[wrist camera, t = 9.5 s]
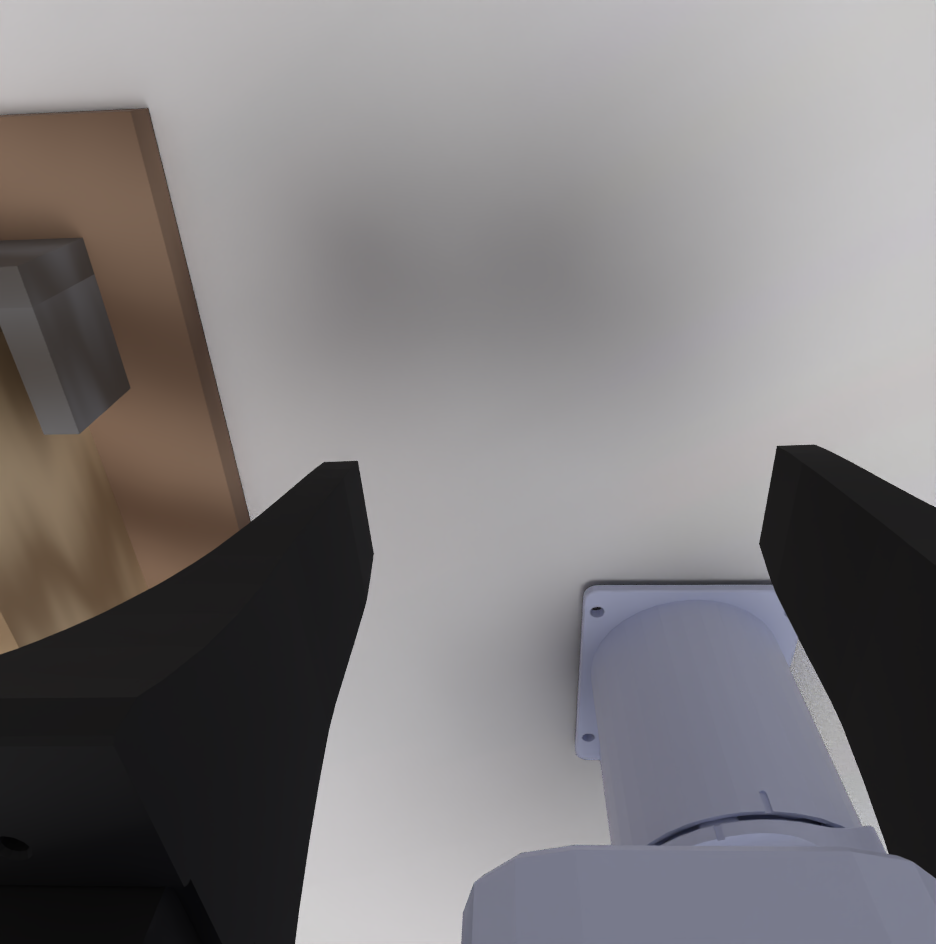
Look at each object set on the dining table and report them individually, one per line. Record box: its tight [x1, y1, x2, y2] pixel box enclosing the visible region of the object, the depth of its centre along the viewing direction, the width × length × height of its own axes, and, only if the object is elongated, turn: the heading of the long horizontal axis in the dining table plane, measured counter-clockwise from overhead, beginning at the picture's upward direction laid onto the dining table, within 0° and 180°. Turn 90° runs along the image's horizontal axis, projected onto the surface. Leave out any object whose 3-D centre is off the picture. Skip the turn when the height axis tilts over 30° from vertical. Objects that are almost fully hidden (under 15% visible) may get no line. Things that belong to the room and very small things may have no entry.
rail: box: [0, 326, 148, 654], centre depth 21 cm, size 14×4×6 cm, turn 3°
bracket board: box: [0, 108, 250, 589], centre depth 23 cm, size 24×12×4 cm, turn 2°
